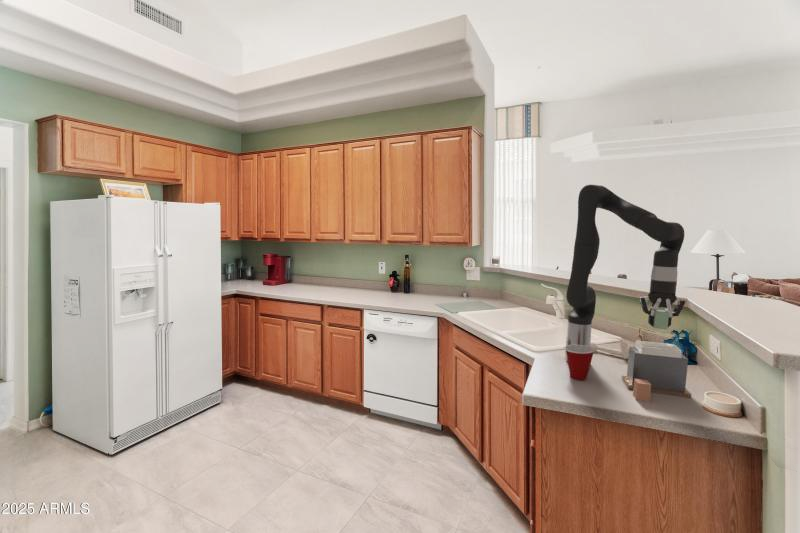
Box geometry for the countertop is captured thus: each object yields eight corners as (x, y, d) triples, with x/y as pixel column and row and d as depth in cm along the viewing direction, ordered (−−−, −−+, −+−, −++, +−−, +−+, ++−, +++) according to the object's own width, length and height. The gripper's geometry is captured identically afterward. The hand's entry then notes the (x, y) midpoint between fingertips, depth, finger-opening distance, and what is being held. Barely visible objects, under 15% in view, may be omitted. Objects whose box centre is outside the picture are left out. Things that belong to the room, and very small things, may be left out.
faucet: (592, 359, 179) (586, 338, 180) (632, 356, 166) (626, 334, 167) (589, 360, 176) (583, 340, 177) (630, 358, 163) (623, 336, 165)
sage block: (654, 328, 132) (655, 311, 131) (650, 325, 136) (652, 309, 135) (667, 329, 131) (669, 312, 130) (663, 326, 134) (665, 310, 134)
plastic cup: (565, 369, 152) (567, 341, 150) (595, 376, 145) (597, 346, 144) (559, 378, 143) (561, 348, 142) (590, 385, 137) (592, 354, 135)
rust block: (635, 400, 125) (637, 383, 125) (632, 395, 129) (634, 378, 129) (649, 402, 124) (651, 384, 124) (646, 397, 128) (647, 380, 127)
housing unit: (627, 388, 134) (631, 346, 132) (621, 378, 143) (624, 338, 142) (691, 397, 128) (695, 352, 126) (680, 386, 137) (684, 344, 136)
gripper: (643, 279, 130) (639, 326, 132) (692, 281, 125) (686, 331, 127) (637, 276, 137) (633, 321, 139) (683, 278, 133) (678, 325, 134)
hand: (659, 326), depth 133 cm, fingers closed on sage block, 4 cm apart
